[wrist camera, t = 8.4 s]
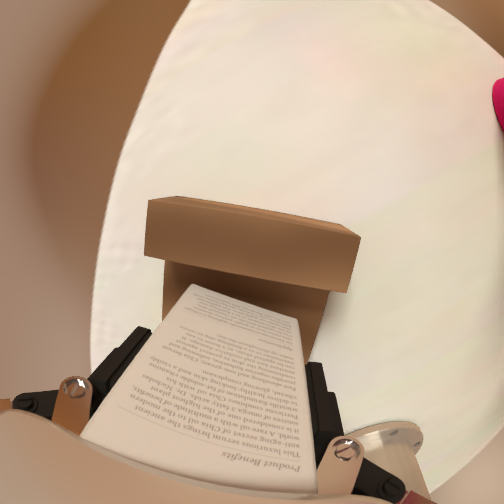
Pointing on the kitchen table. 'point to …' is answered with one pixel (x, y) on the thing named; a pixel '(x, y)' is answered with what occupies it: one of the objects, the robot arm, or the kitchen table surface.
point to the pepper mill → (499, 100)
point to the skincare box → (216, 398)
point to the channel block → (251, 257)
